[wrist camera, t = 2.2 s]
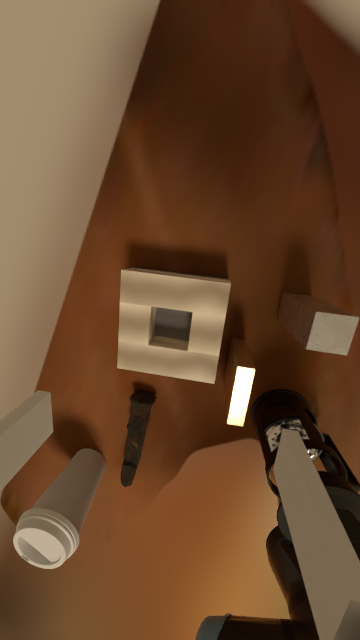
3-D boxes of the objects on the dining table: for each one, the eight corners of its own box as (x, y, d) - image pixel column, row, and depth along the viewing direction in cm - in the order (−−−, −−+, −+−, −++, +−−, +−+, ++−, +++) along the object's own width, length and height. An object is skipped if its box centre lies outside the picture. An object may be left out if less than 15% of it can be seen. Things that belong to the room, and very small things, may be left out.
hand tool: (136, 385, 43) (127, 401, 39) (158, 392, 43) (151, 408, 38) (118, 466, 49) (108, 488, 44) (137, 472, 48) (129, 495, 44)
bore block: (214, 364, 40) (214, 383, 34) (130, 351, 41) (117, 367, 35) (228, 278, 36) (231, 283, 30) (135, 267, 37) (121, 269, 31)
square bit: (304, 322, 36) (347, 355, 25) (276, 318, 36) (305, 349, 25) (311, 295, 35) (359, 317, 23) (282, 292, 35) (316, 311, 24)
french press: (239, 427, 42) (268, 617, 20) (258, 380, 39) (315, 543, 17) (306, 447, 42) (411, 668, 20) (330, 402, 39) (484, 599, 17)
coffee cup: (59, 446, 49) (-5, 528, 34) (101, 437, 47) (51, 519, 32) (80, 484, 51) (28, 575, 36) (121, 476, 49) (82, 569, 34)
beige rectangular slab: (235, 385, 40) (243, 426, 31) (223, 383, 40) (226, 423, 31) (244, 339, 38) (255, 369, 28) (231, 337, 38) (238, 366, 29)
